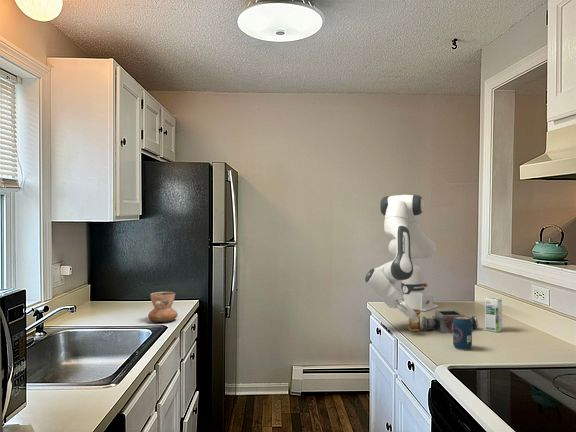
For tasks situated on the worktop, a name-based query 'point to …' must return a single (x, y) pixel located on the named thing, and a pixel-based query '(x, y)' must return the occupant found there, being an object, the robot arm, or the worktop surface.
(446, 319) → the valve body
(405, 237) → the robot arm
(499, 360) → the worktop surface
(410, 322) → the copper flared cylinder
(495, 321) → the syrup box
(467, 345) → the soda can
